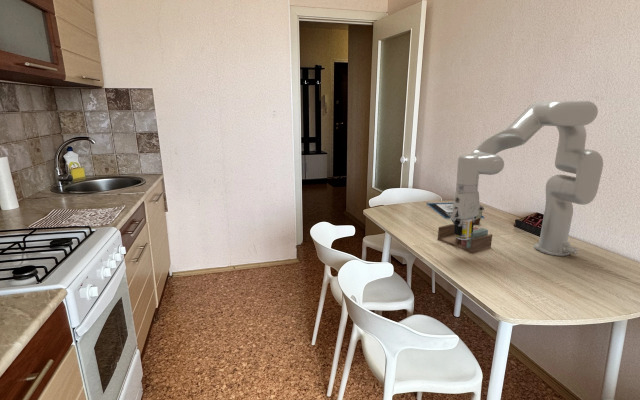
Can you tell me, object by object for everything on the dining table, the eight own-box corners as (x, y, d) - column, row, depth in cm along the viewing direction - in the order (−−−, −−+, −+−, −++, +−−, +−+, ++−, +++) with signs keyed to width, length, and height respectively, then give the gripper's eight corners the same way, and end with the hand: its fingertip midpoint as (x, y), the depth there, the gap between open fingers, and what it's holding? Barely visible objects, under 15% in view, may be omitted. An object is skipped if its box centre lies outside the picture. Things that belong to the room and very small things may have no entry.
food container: (478, 221, 182) (480, 203, 180) (482, 225, 176) (484, 206, 174) (453, 221, 184) (455, 202, 181) (457, 224, 178) (459, 205, 175)
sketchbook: (445, 220, 187) (445, 216, 186) (425, 205, 216) (425, 202, 215) (484, 219, 188) (485, 215, 188) (459, 204, 217) (459, 201, 217)
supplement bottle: (466, 235, 139) (468, 210, 136) (473, 240, 134) (475, 214, 131) (452, 235, 139) (454, 211, 136) (459, 241, 133) (461, 215, 131)
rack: (490, 248, 148) (493, 230, 146) (472, 253, 142) (474, 235, 140) (455, 235, 163) (457, 218, 161) (437, 239, 157) (439, 222, 155)
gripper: (459, 193, 124) (456, 241, 128) (490, 186, 132) (486, 231, 137) (442, 189, 130) (440, 235, 135) (473, 183, 138) (469, 226, 143)
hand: (463, 232), depth 136 cm, fingers closed on supplement bottle, 5 cm apart
